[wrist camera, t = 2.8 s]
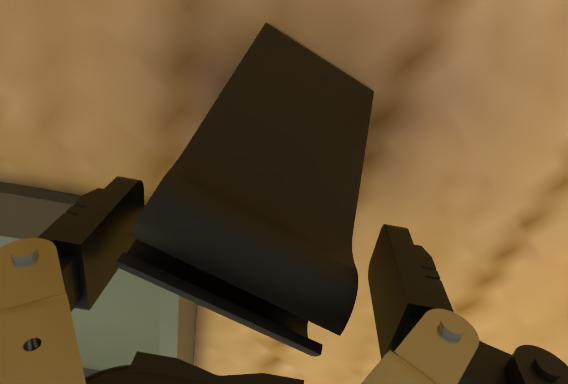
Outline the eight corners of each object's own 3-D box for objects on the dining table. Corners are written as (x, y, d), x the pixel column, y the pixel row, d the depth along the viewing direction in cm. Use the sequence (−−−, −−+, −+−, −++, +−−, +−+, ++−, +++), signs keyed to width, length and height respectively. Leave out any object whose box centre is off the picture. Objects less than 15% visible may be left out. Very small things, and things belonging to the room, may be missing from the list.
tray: (-20, 346, 31) (-69, 401, 27) (-82, 168, 23) (-165, 208, 19) (192, 381, 31) (174, 439, 27) (202, 216, 23) (179, 265, 19)
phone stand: (280, 219, 23) (252, 423, 12) (188, 170, 22) (72, 350, 11) (373, 90, 19) (447, 232, 8) (267, 21, 18) (199, 86, 7)
